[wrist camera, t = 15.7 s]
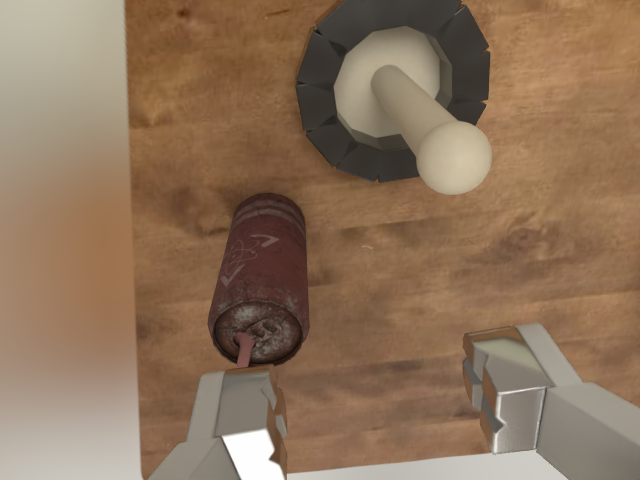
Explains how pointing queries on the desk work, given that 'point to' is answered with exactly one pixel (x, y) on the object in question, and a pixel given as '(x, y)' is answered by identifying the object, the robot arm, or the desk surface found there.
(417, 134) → the stand
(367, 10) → the ring
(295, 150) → the desk surface
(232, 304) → the can
